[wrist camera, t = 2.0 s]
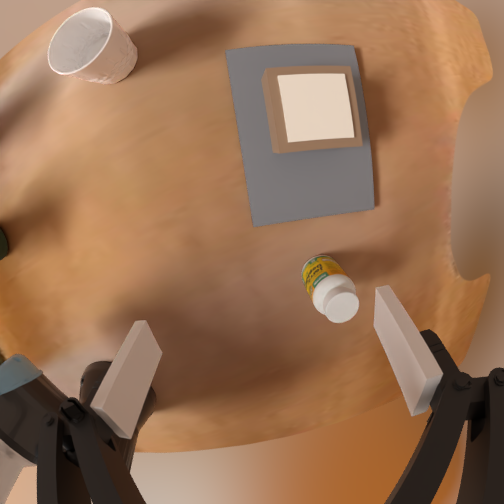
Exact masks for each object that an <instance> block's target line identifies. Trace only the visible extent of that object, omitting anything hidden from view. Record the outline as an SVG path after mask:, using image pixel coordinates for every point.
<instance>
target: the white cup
mask: <svg viewBox="0 0 504 504" xmlns="http://www.w3.org/2000/svg"><path fill="white" fill-rule="evenodd" d="M137 59H138V54H137V47H136V46H135V45H134V44H133V42H132V41H131V40H130V37H129V36H128V35H127V33H126V32H125V31H124V29H123V28H122V27H121V26H120V25H119V24H118V22H117V21H116V20H115V19H114V18H113V17H112V15H111V14H110V13H109V12H108V11H107V10H105V9H103V8H100V7H90V8H86V9H83V10H81V11H79V12H77V13H75V14H73V15H72V16H70V17H69V18H68V19H67V20H66V21H65V22H64V23H63V24H62V25H61V26H60V27H59V28H58V30H57V31H56V32H55V34H54V36H53V38H52V40H51V42H50V45H49V49H48V62H49V65H50V67H51V68H52V70H53V71H55V72H56V73H59V74H62V75H67V76H71V77H75V78H79V79H82V80H87V81H91V82H98V83H101V84H105V85H106V84H113V83H117V82H118V81H120V80H122V79H124V78H126V77H127V75H128V74H129V73H130V72H131V71H132V70H133V69H134V66H135V64H136V61H137Z"/></svg>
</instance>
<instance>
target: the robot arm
mask: <svg viewBox="0 0 504 504" xmlns="http://www.w3.org/2000/svg"><path fill="white" fill-rule="evenodd" d="M374 328H375V330H376V332H377V335H378V337H379V339H380V341H381V343H382V346H383V348H384V350H385V352H386V355H387V357H388V359H389V362H390V364H391V366H392V369H393V371H394V373H395V376H396V378H397V381H398V383H399V385H400V388H401V390H402V393H403V395H404V398H405V401H406V403H407V406H408V408H409V411H410V413H411V416H414V415H418V414H420V413H423V412H426V411H427V409H428V407H429V405H430V406H431V408H432V413H431V415H430V417H429V419H428V421H427V422H428V423H427V425H426V428H425V430H424V432H423V434H422V436H421V439H420V441H419V443H418V445H417V447H416V449H415V452H414V453H413V455H412V457H411V459H410V461H409V463H408V465H407V467H406V469H405V470H404V472H403V474H402V476H401V477H400V479H399V481H398V483H397V484H396V486H395V488H394V489H393V491H392V492H391V494H390V496H389V497H388V499H387V500H386V502H385V504H431V502H432V500H433V498H434V496H435V494H436V492H437V490H438V488H439V486H440V484H441V482H442V480H443V477H444V475H445V473H446V471H447V468H448V466H449V463H450V461H451V459H452V456H453V454H454V451H455V448H456V446H457V443H458V440H459V437H460V434H461V431H462V428H463V425H464V422H465V420H468V428H467V429H468V430H467V441H466V452H465V459H464V467H463V473H462V479H461V484H460V489H459V494H458V499H457V503H456V504H504V368H495V369H493V370H492V371H491V372H490V374H489V376H488V377H479V378H472V377H470V376H469V375H468V374H466V373H464V372H460V371H459V369H458V367H457V366H456V364H455V362H454V361H453V359H452V358H451V356H450V354H449V353H448V351H447V350H446V349H445V346H444V345H443V344H442V342H441V340H440V339H439V337H438V336H437V334H435V333H434V332H433V331H431V330H430V329H428V330H424V331H421V332H419V331H418V329H417V328H416V326H415V324H414V323H413V321H412V320H411V318H410V317H409V315H408V313H407V312H406V310H405V309H404V307H403V306H402V304H401V303H400V301H399V300H398V298H397V297H396V295H395V294H394V292H393V291H392V289H391V288H390V286H389V285H385V286H380V287H376V296H375V314H374ZM162 354H163V353H162V351H161V349H160V347H159V345H158V343H157V341H156V339H155V337H154V335H153V333H152V331H151V329H150V327H149V325H148V323H147V321H146V320H139V321H135V322H134V324H133V326H132V328H131V329H130V331H129V333H128V335H127V336H126V338H125V340H124V342H123V344H122V345H121V347H120V349H119V351H118V353H117V355H116V356H115V358H114V360H113V362H112V363H109V362H96V363H92V364H90V365H89V366H88V367H87V368H86V369H85V371H84V373H83V375H82V378H81V387H80V398H79V401H78V400H77V399H76V398H73V397H70V398H68V397H67V396H66V395H65V394H64V393H63V392H61V391H60V390H59V389H58V388H57V387H56V386H55V385H54V384H53V383H52V382H51V381H50V380H49V379H48V378H47V377H46V376H45V375H44V374H43V372H42V371H41V370H39V369H38V368H37V367H36V366H35V365H34V364H33V363H32V362H31V361H30V360H28V359H27V358H26V357H25V356H24V355H22V354H14V355H12V356H11V357H10V358H9V359H7V360H6V361H5V362H4V363H3V364H2V365H1V366H0V504H5V502H6V500H7V497H8V496H9V494H10V491H11V490H12V487H13V486H14V484H15V482H16V480H17V478H18V476H19V474H20V472H21V471H22V469H23V467H29V466H37V504H91V500H92V502H93V504H146V502H145V501H144V499H143V498H142V495H141V494H140V492H139V490H138V488H137V486H136V485H135V483H134V481H133V478H132V477H131V475H130V469H131V464H132V459H133V455H134V451H135V446H136V442H137V437H138V433H139V431H140V429H141V428H142V427H143V425H144V424H145V422H146V421H147V419H148V418H149V417H150V416H151V415H152V413H153V411H154V407H155V403H156V396H155V393H154V391H153V389H152V387H151V386H150V385H151V382H152V380H153V377H154V374H155V372H156V369H157V366H158V364H159V361H160V359H161V356H162ZM90 497H91V498H90Z"/></svg>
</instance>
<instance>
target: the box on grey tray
mask: <svg viewBox="0 0 504 504" xmlns="http://www.w3.org/2000/svg"><path fill="white" fill-rule="evenodd" d="M225 53H226V59H227V65H228V71H229V77H230V83H231V90H232V96H233V102H234V108H235V114H236V120H237V127H238V133H239V139H240V145H241V152H242V158H243V164H244V170H245V177H246V183H247V189H248V196H249V202H250V208H251V215H252V221H253V227H257V226H263V225H270V224H276V223H283V222H289V221H296V220H302V219H309V218H316V217H323V216H329V215H336V214H344V213H351V212H358V211H365V210H373V209H374V186H373V170H372V158H371V147H370V138H369V129H368V121H367V114H366V107H365V101H364V95H363V89H362V83H361V78H360V73H359V68H358V63H357V58H356V54H355V50H354V46H351V45H334V44H287V45H269V46H257V47H248V48H239V49H232V50H225Z"/></svg>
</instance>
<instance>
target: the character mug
mask: <svg viewBox="0 0 504 504" xmlns="http://www.w3.org/2000/svg"><path fill="white" fill-rule="evenodd" d="M7 251H8V247H7V241H6V238H5V236H4V234H3V232H2V230H1V229H0V260H2V259H3V258H4V257H5V256H6V255H7Z"/></svg>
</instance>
